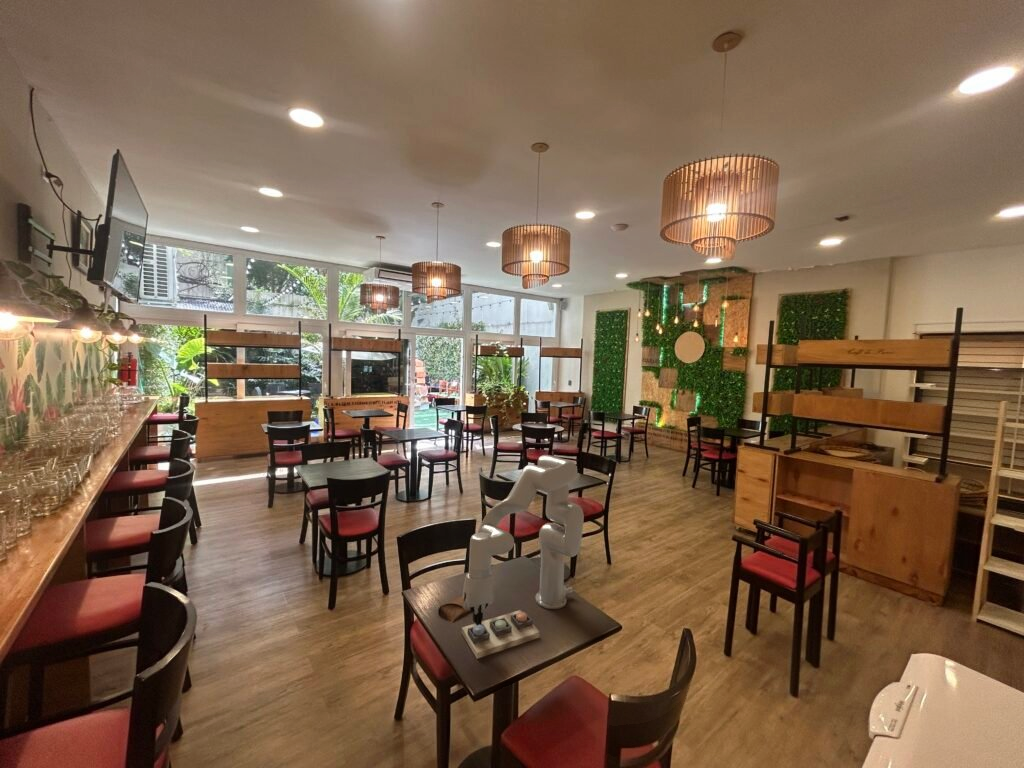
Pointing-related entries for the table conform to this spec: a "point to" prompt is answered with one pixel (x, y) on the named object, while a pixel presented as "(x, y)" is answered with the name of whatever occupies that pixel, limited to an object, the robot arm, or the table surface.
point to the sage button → (500, 624)
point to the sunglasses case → (453, 610)
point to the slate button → (478, 630)
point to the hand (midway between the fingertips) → (477, 622)
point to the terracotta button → (521, 617)
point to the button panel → (500, 634)
